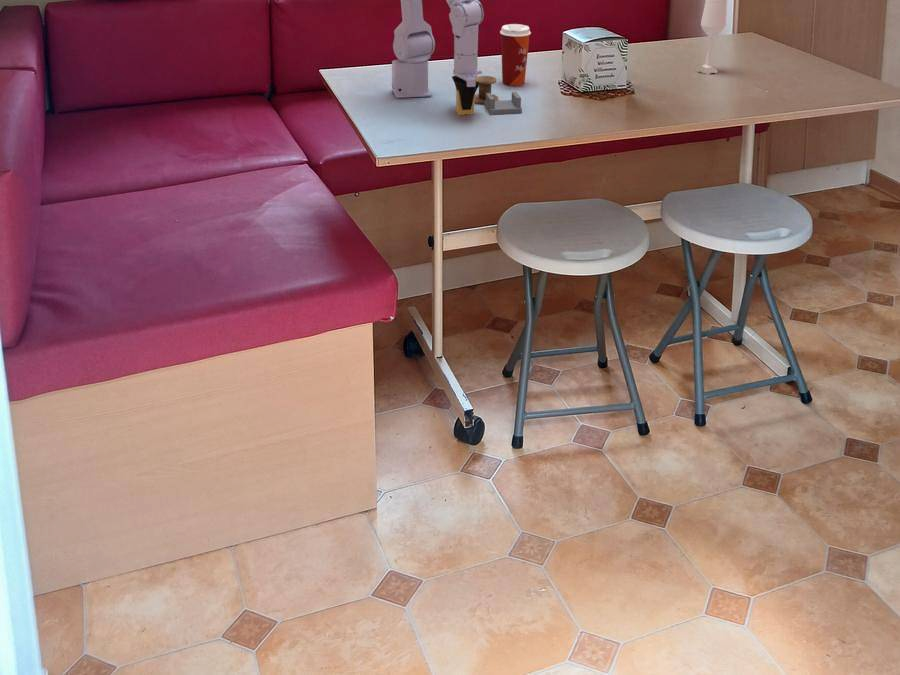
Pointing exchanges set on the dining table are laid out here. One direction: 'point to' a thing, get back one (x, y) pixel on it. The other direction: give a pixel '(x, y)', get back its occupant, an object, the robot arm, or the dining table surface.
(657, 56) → the dining table surface
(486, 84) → the bobbin
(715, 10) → the champagne flute
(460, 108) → the yellow upright block
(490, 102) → the grey cradle
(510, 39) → the coffee cup
